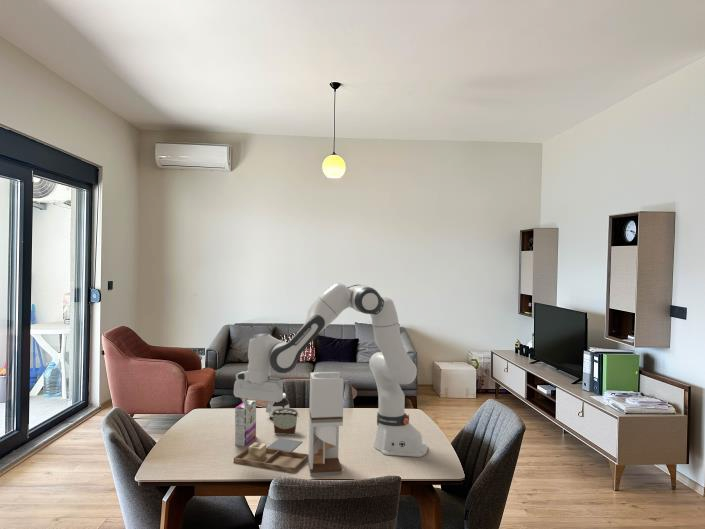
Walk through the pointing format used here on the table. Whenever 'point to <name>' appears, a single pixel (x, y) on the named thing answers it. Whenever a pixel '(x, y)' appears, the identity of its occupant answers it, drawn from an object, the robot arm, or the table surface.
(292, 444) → the gray mat
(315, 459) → the display case
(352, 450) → the table surface
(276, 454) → the walnut organizer
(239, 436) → the candy bar box
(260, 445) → the maple block
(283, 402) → the spread jar
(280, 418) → the food container
